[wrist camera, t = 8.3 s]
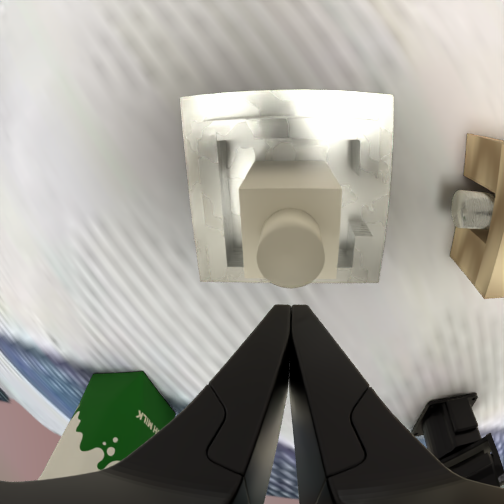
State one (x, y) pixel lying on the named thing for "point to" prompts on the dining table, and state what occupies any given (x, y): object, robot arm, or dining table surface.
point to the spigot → (290, 222)
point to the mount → (500, 232)
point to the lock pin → (472, 209)
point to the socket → (288, 149)
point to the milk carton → (109, 424)
